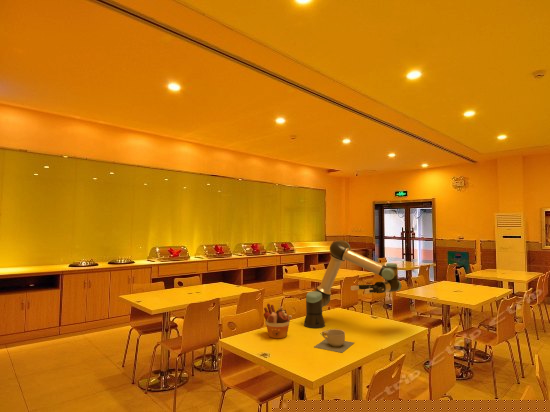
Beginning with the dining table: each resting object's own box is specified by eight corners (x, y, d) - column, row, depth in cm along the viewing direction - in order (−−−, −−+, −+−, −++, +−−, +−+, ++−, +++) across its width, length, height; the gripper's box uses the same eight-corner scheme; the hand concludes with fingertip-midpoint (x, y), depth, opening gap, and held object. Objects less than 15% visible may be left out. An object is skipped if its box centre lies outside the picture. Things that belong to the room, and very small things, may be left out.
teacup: (348, 344, 204) (347, 330, 205) (340, 349, 195) (340, 335, 196) (327, 340, 212) (327, 327, 213) (319, 345, 203) (318, 331, 204)
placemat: (313, 347, 200) (313, 346, 200) (327, 338, 217) (327, 337, 217) (342, 353, 190) (342, 352, 190) (354, 342, 207) (354, 342, 207)
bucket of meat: (296, 336, 220) (296, 305, 222) (277, 342, 209) (277, 309, 211) (276, 330, 235) (276, 301, 237) (257, 335, 224) (257, 304, 226)
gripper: (396, 295, 220) (371, 299, 210) (369, 289, 242) (345, 292, 232) (395, 284, 220) (371, 286, 211) (368, 279, 242) (345, 281, 233)
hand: (357, 289), depth 221 cm, fingers open, 13 cm apart
